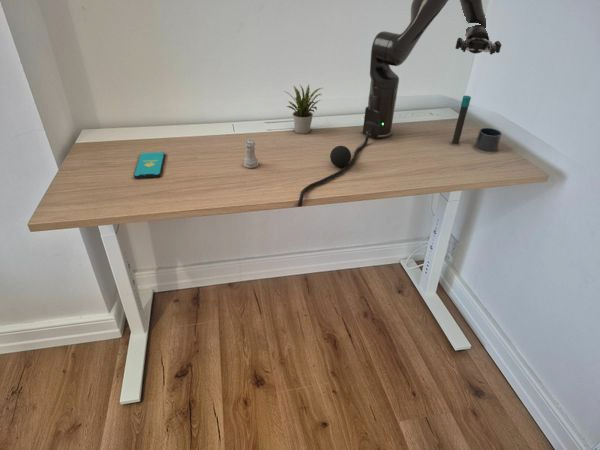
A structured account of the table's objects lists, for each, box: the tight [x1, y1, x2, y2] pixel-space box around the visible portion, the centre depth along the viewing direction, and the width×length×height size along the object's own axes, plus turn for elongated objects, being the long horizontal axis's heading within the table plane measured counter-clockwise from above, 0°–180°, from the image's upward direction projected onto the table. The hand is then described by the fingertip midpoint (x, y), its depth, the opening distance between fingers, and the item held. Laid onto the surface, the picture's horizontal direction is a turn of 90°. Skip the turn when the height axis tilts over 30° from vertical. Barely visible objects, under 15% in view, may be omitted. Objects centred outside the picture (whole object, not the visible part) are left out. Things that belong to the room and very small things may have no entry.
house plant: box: [283, 84, 323, 135], centre depth 146 cm, size 14×14×16 cm
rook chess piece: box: [243, 138, 259, 169], centre depth 126 cm, size 4×4×8 cm
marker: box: [451, 95, 472, 145], centre depth 140 cm, size 2×2×16 cm
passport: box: [133, 151, 165, 179], centre depth 126 cm, size 7×1×15 cm
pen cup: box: [474, 127, 503, 153], centre depth 140 cm, size 7×7×6 cm
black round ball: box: [329, 145, 352, 168], centre depth 129 cm, size 6×6×10 cm
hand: (478, 50), depth 138 cm, fingers open, 8 cm apart
